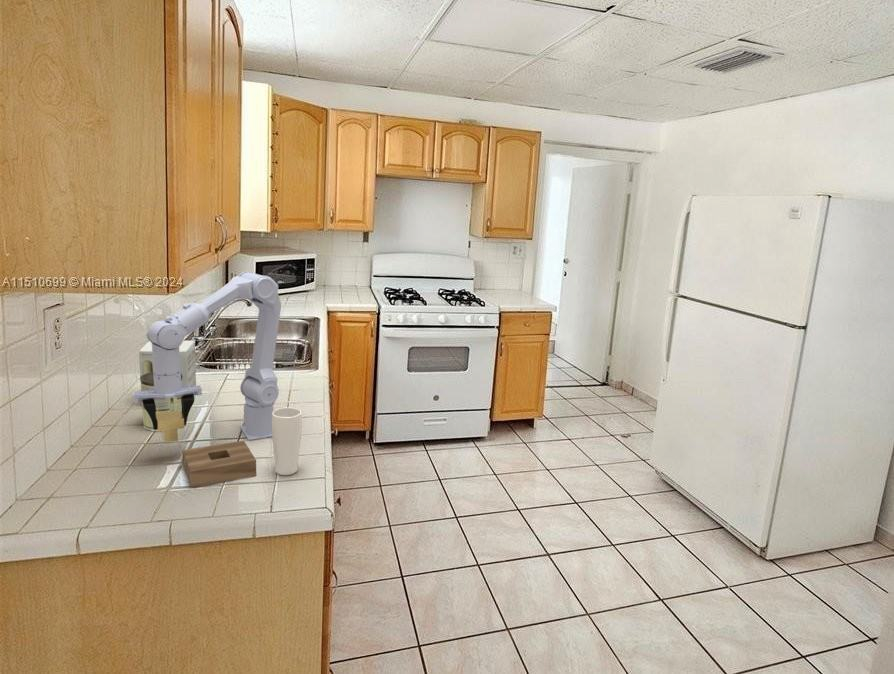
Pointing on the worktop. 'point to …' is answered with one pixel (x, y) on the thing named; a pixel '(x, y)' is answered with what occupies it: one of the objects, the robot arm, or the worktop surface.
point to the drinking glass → (286, 439)
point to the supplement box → (185, 362)
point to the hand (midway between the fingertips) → (169, 426)
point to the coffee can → (157, 401)
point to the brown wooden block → (218, 463)
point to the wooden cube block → (170, 424)
